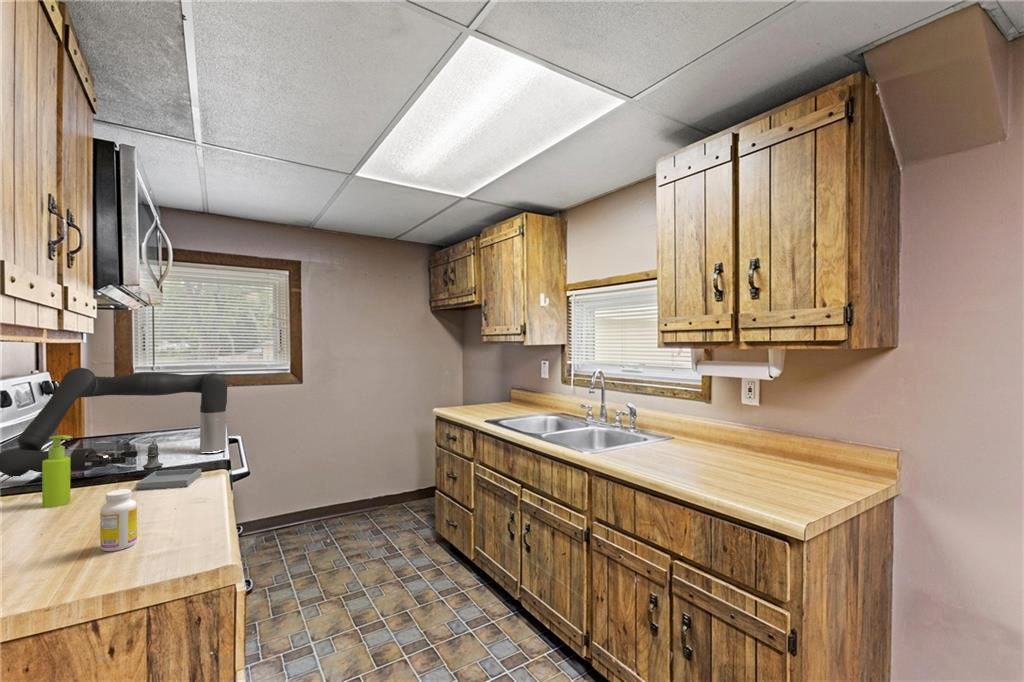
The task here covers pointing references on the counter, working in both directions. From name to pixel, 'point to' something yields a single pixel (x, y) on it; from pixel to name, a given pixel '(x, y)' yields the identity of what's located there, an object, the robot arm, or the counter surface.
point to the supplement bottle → (118, 521)
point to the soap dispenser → (56, 475)
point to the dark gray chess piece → (152, 458)
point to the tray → (168, 479)
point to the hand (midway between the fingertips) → (131, 456)
